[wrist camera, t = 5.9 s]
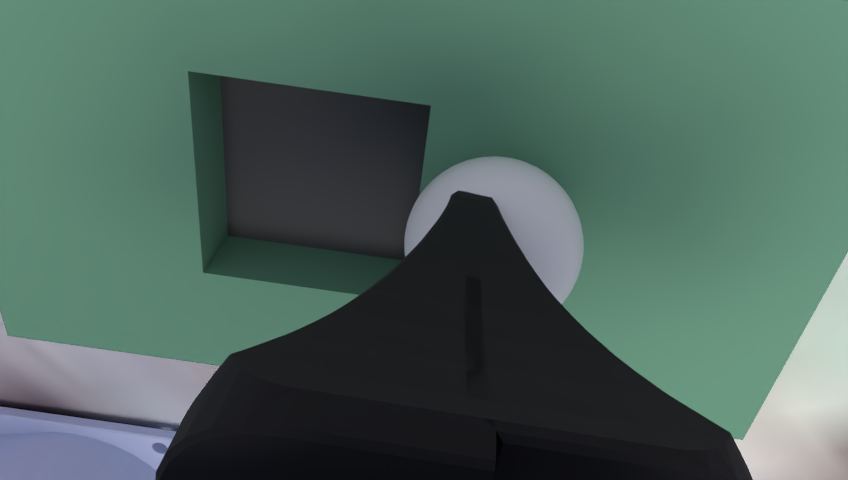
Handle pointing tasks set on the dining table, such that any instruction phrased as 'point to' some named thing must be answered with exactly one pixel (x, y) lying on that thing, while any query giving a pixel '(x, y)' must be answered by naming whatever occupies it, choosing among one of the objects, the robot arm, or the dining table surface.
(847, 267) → the dining table surface
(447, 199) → the ball
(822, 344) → the dining table surface
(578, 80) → the putting mat
